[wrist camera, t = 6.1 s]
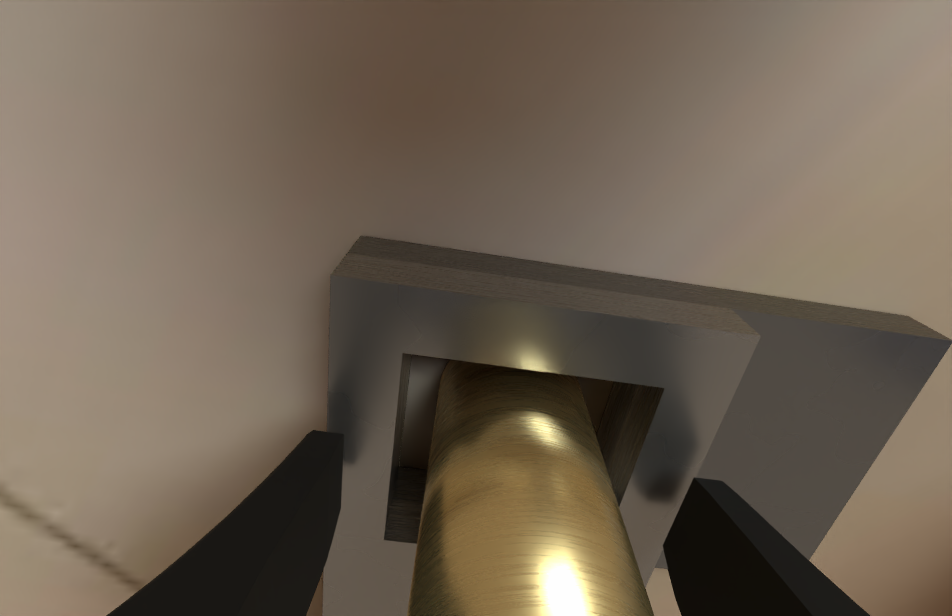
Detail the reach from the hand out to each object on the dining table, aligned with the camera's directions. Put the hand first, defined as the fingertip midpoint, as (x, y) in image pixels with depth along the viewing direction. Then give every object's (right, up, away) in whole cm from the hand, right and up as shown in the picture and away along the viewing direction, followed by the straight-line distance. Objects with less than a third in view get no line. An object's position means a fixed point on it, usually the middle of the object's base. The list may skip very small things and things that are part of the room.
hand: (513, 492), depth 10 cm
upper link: (-1, -3, +5) cm, 5 cm away
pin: (0, +2, +3) cm, 3 cm away
